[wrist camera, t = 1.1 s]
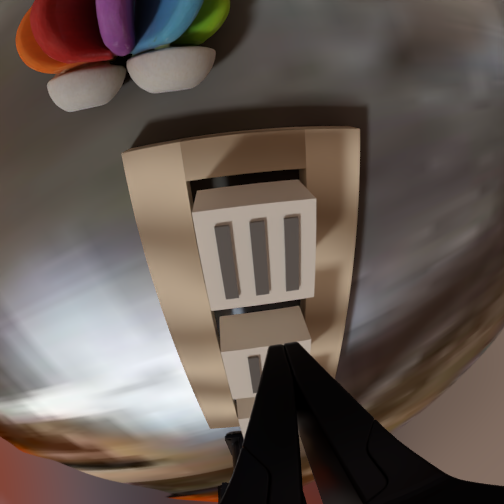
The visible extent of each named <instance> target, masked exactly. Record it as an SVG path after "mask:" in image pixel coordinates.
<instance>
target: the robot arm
mask: <svg viewBox="0 0 504 504" xmlns="http://www.w3.org/2000/svg"><path fill="white" fill-rule="evenodd" d="M298 431H299V433H298ZM299 434H300V437H301V440H302V443H303V446H304V449H305V452H306V455H307V458H308V461H309V464H310V467H311V470H312V473H313V476H314V479H315V481H316V484H317V487H318V490H319V493H320V496H321V499H322V502H323V504H504V486H498V485H490V484H483V483H475V482H470V481H465V480H460V479H457V478H454V477H452V476H450V475H448V474H446V473H444V472H443V471H441V470H439V469H438V468H437V467H435V466H434V465H432V464H430V463H429V462H428V461H426V460H425V459H423V458H422V457H420V456H419V455H417V454H416V453H414V452H413V451H412V450H410V449H409V448H408V447H406V446H405V445H404V444H402V443H401V442H400V441H399V440H397V439H396V438H395V437H394V436H393V435H392V434H391V433H389V432H388V431H387V430H386V429H385V428H384V427H383V426H382V425H381V424H380V423H379V422H378V421H377V420H374V418H373V417H372V416H371V415H370V414H369V413H368V412H367V411H366V410H365V409H364V408H363V407H362V406H361V405H360V404H359V403H358V402H357V401H356V400H355V399H354V398H353V397H352V396H351V395H350V394H349V393H348V392H347V391H346V390H345V389H344V388H343V387H342V386H341V385H340V384H339V383H338V382H337V381H336V380H335V379H334V378H333V377H332V376H331V375H330V374H329V373H328V372H327V371H326V370H325V369H324V368H323V367H322V366H321V365H320V364H319V363H318V362H317V361H316V360H315V359H314V358H313V357H312V356H311V355H310V354H309V353H308V352H307V351H306V350H305V349H304V348H303V347H302V346H301V345H300V344H299V343H298V342H290V343H285V344H284V345H282V344H277V345H271V346H269V347H268V350H267V354H266V358H265V362H264V366H263V370H262V374H261V378H260V382H259V386H258V389H257V393H256V397H255V401H254V405H253V408H252V412H251V416H250V419H249V423H248V426H247V430H246V434H245V437H244V438H243V435H242V434H236V435H227V436H225V441H226V443H227V445H228V448H229V450H230V452H231V454H232V456H233V467H234V472H233V475H232V478H231V480H230V482H229V483H227V482H225V483H222V485H221V486H218V504H307V503H306V500H305V496H304V493H303V487H302V472H301V458H300V445H299Z"/></svg>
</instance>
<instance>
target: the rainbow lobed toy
mask: <svg viewBox="0 0 504 504" xmlns="http://www.w3.org/2000/svg"><path fill="white" fill-rule="evenodd" d="M229 10H230V0H35V1H34V3H33V5H32V7H31V8H30V9H29V10H28V11H27V13H26V14H25V16H24V17H23V19H22V21H21V23H20V25H19V27H18V30H17V34H16V47H17V51H18V53H19V56H20V58H21V59H22V60H23V61H24V63H25V64H26V65H27V66H29V67H30V68H32V69H34V70H36V71H39V72H42V73H49V74H56V75H55V77H54V78H52V79H51V80H50V81H49V82H48V84H47V88H48V92H49V95H50V97H51V98H52V100H53V101H54V103H55V104H56V105H57V106H58V107H60V108H61V109H63V110H65V111H68V112H73V111H78V110H82V109H87V108H92V107H96V106H101V105H104V104H107V103H108V102H109V101H110V100H111V99H112V98H113V97H114V96H115V95H116V94H117V93H118V91H119V90H120V88H121V86H122V84H123V81H124V78H125V75H126V68H125V67H123V66H121V65H118V66H117V65H112V64H110V62H111V61H114V60H116V57H117V55H118V56H125V55H127V54H132V57H131V58H130V59H128V60H127V70H128V72H129V74H130V76H131V78H132V79H133V81H134V82H135V83H136V84H137V85H138V86H139V87H141V88H142V89H144V90H146V91H148V92H150V93H163V92H171V91H179V90H186V89H191V88H194V87H195V86H197V85H198V84H199V83H201V82H202V81H203V80H204V79H205V78H206V76H207V75H208V74H209V72H210V70H211V69H212V66H213V64H214V61H215V56H216V51H215V50H214V49H212V48H208V47H200V46H198V45H200V44H202V43H204V42H205V41H206V40H207V39H208V38H210V37H211V36H212V35H213V34H214V33H215V32H216V31H217V30H218V29H219V28H220V27H221V25H222V24H223V23H224V21H225V19H226V18H227V16H228V13H229Z"/></svg>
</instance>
